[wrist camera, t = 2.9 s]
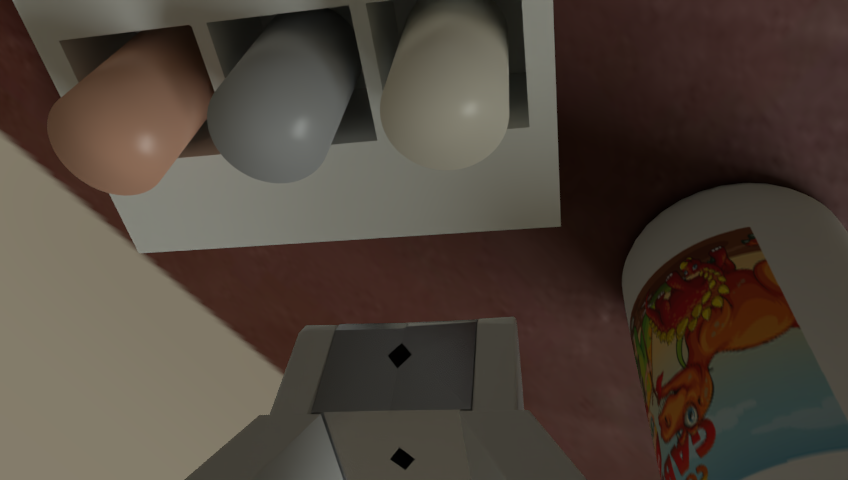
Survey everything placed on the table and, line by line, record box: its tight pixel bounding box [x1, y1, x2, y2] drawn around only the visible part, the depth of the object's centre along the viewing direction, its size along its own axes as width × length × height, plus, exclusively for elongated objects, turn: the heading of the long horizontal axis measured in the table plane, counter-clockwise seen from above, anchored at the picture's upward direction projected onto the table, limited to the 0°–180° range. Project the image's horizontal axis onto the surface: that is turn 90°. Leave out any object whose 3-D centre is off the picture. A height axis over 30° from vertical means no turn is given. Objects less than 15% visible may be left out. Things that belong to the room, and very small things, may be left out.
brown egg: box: [47, 25, 214, 196], centre depth 18 cm, size 3×3×4 cm
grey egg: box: [207, 8, 362, 183], centre depth 17 cm, size 3×3×4 cm
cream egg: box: [380, 0, 509, 170], centre depth 16 cm, size 3×3×4 cm
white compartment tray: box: [12, 0, 561, 253], centre depth 19 cm, size 10×13×4 cm
